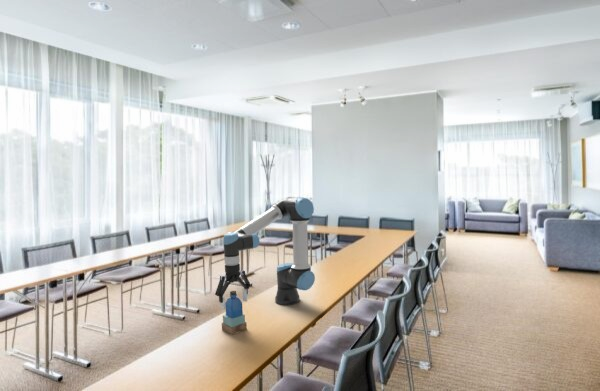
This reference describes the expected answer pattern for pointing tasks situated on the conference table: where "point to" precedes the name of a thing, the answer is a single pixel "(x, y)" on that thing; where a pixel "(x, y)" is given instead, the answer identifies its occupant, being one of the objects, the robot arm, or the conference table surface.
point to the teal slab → (233, 320)
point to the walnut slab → (234, 328)
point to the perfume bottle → (233, 306)
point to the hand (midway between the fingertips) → (234, 304)
